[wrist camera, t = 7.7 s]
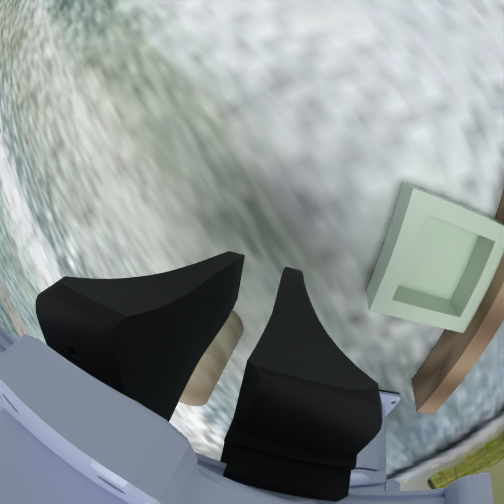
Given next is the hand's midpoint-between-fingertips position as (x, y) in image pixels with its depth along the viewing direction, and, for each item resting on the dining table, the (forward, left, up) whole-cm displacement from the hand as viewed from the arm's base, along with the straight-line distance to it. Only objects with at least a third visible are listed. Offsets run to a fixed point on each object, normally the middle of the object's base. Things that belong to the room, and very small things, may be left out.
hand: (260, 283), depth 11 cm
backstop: (-2, -16, -9) cm, 19 cm away
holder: (0, -11, -10) cm, 15 cm away
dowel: (-11, +4, -9) cm, 15 cm away
